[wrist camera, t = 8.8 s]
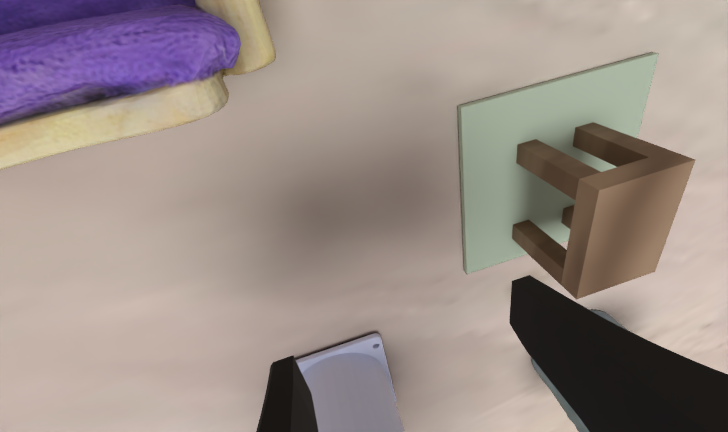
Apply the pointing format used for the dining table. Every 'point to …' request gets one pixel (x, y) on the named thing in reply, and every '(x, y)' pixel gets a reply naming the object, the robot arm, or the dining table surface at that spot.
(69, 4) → the toy sofa
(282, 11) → the dining table surface
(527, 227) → the stool
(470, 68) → the dining table surface
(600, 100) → the mat
